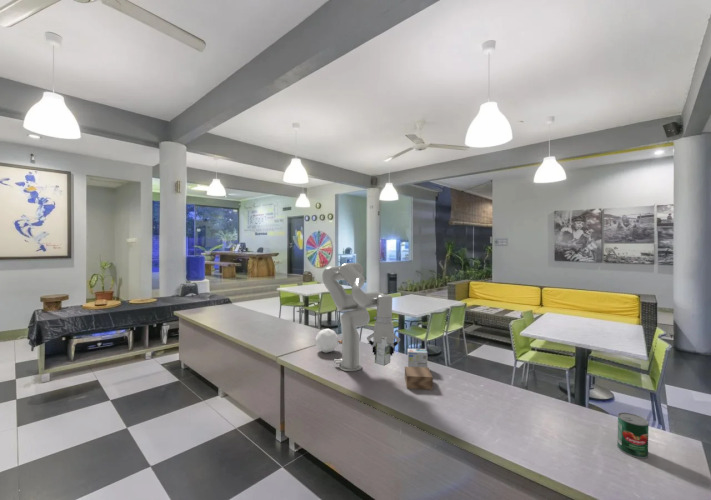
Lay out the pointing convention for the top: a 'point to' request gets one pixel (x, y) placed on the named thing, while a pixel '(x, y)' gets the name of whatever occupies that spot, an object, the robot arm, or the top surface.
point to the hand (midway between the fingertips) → (383, 354)
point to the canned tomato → (633, 435)
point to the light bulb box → (417, 358)
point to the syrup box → (383, 352)
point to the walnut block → (418, 378)
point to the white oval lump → (327, 340)
